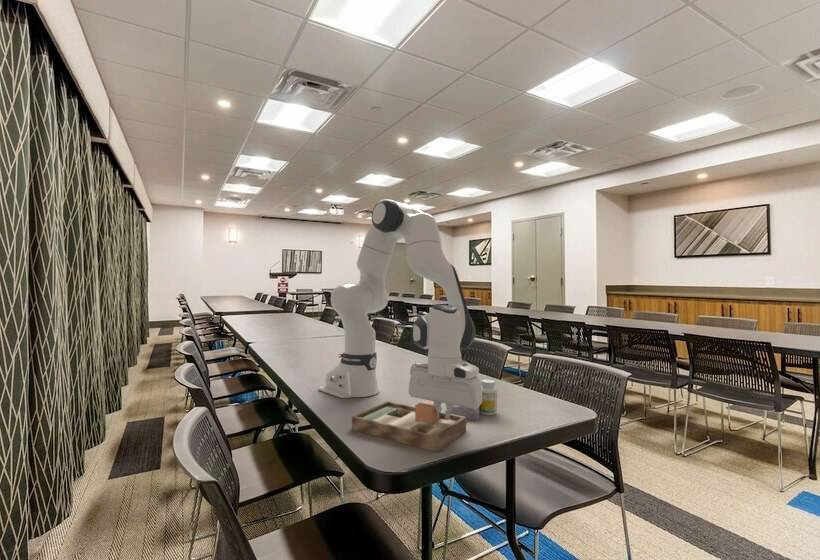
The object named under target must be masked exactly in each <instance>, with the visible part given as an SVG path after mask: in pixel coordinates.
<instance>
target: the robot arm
mask: <svg viewBox="0 0 820 560" xmlns="http://www.w3.org/2000/svg"><path fill="white" fill-rule="evenodd" d="M371 222H372V223H371V225H370V227H369V229H368V231H367V232H366V235H365V237H364V239H363V243H362V245H361V248H360V251H359V255H358V258H357V261H356V267H357V269H358V270H359V272H360V273H359V276H360V277H359V282H358V283H345V284H342V285H338V286H337V287H335V288H334V289H333V291H332V292H331V294H330V304H331V307H332V309H333V310H334V311H335V312H336V313H337V314H338V317H339V318H340V320H341V323H342V327H343V332H344V333H343V334H344V352H343V353H340V354H338V358H339V359H340V358H341V359H340V362H339V363H338V364H337V365H336V366H334V367H333V368H331V370H329V371H328V372H327V373H326V377H325V381H324V382H325V383H324V384H322V385H320V386H319V387H318V391H320V392H323V393H326V394H328V395H331V396H335V397H337V398H341V399H350V398H365V397H370V396H375V395H377V394H379V393H380V389H379V385H378V383H379V382H378V379H377V378H378V377H377V369H376V368H377V367H376V366H377V352H376V338H377V336H376V335H377V333H376V330H375V329H374V327H373V326H372V325H371V324H370V320H369V317H368V314H374V313H377V312H380V311H383V310H384V309H385V308H386V307H387V305H388V303H389V294H388V292H387V289H386V279H387V272H388V269H389V267H390V262H391V260H392V256H393V254H394V251H395V248H396V245H397V243H398V241H399V240H401V239H404V241H405V254H406V260H407V261H406V262H407V265H408V267H409V269H410V270H411V271H412V273H415V274H416V275H417V276H419V277H421V278H423V279H426V280H429V281H431V282H433V283H436V285H438V286H440V287H441V288H442V289H443V292H444V293H445V297H446V300H447V303H448V304H435V305H432V306H431V307H430V308H429V312H428V313H426V314H424V315H421V316H419V317H417V318H416V320H415V321H414V322H413V323H412V325H411V326H412V327H411V330H412V331H411V336H412V337H411V338H412V339H411V340H412V342H413V343H414V344H415V345H416V346H417V347H418V348H420V349H424V350H428V352H427V363H421V362H415V363H414V364H411V367H410V368H409V369H410V371H409V373H410V374H409V375H410V378H409V383H408V394H409V396H410V397H411V398H415V399H421V400H425V401H430V402H434V407H435V409H436V411H437V418H438V419H443V420H447V421H448V420H449V419H450V412H451V410H452V409H453V407H454V405H457V406H462V407H467V408H473V409H476V408H477V407H479V406H480V405H481V403H482V384H481V382H482V381H481V380H480V378H479V377H478V375H479V373H480V369H479V367H477V366H476V365H474V364H471V363H469V362H467V361H466V360H464V359H462V353H461V350H466V349H467V348H469V347H470V346H471V345H472V343H474V340H475V339H476V335H477V334H476V333H477V332H476V327H475V323H474V321H473V319H472V317H471V314H470V313H469V309H468V305H467V303H466V299H465V296H464V292H463V288H462V284H461V282H460V278H459V276H458V273H457V270H456V268H455V266H454V265H453V264H452V263H450V262H449V261H448V259H447V258H446V256H445V254H444V251H443V247H442V239H441V234H440V230H439V226H438V224H437V221H436V219H435V217H434V216H433V215H431V214H430V213H427V212H426V211H424V210H423V209H419V208H418V207H416V206H413V205H411V204H407V203H402V202H399V201H396V200H394V199H387V198H386V199H381V200H379V201H378V202H377V203H376V204H375V205H374V207H373V209H372V212H371ZM441 404H445V408H446V411H445V410H443V409H442V405H441ZM447 408H448V409H447Z"/></svg>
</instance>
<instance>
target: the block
mask: <svg viewBox="0 0 820 560" xmlns="http://www.w3.org/2000/svg"><path fill="white" fill-rule="evenodd" d="M414 407H415V420H417V421H422V422H426V423H431V424H432V423H434V422H435V421H437V420H438V418H437V411H436V409H435V407H434V401H430V400H425V399H423V401H421V402H418V403H416V404H415V405H414Z"/></svg>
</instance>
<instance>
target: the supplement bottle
mask: <svg viewBox="0 0 820 560" xmlns="http://www.w3.org/2000/svg"><path fill="white" fill-rule="evenodd" d="M480 382H481V387H482V403H481V405H480V406H479V414H482V415H484V416H494V415H496V413H497V412H498V411H497V409H498V404H497V403H498V400H497V399H498V391H497V388H496V387H495V386H496V383H495V380H492V379H481V381H480Z"/></svg>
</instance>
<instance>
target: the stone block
mask: <svg viewBox="0 0 820 560" xmlns="http://www.w3.org/2000/svg"><path fill="white" fill-rule="evenodd" d="M447 409H448V408H446V410H447ZM450 414H453V415H458V416H463V417H466V420H469V421H470V420H473V421H475V420H476V421H479V419H480V412H479V407H477V408H476V409H473V408H467V407H462V406H457V405H454V407H453V409H452V410H451V412H450Z"/></svg>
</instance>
